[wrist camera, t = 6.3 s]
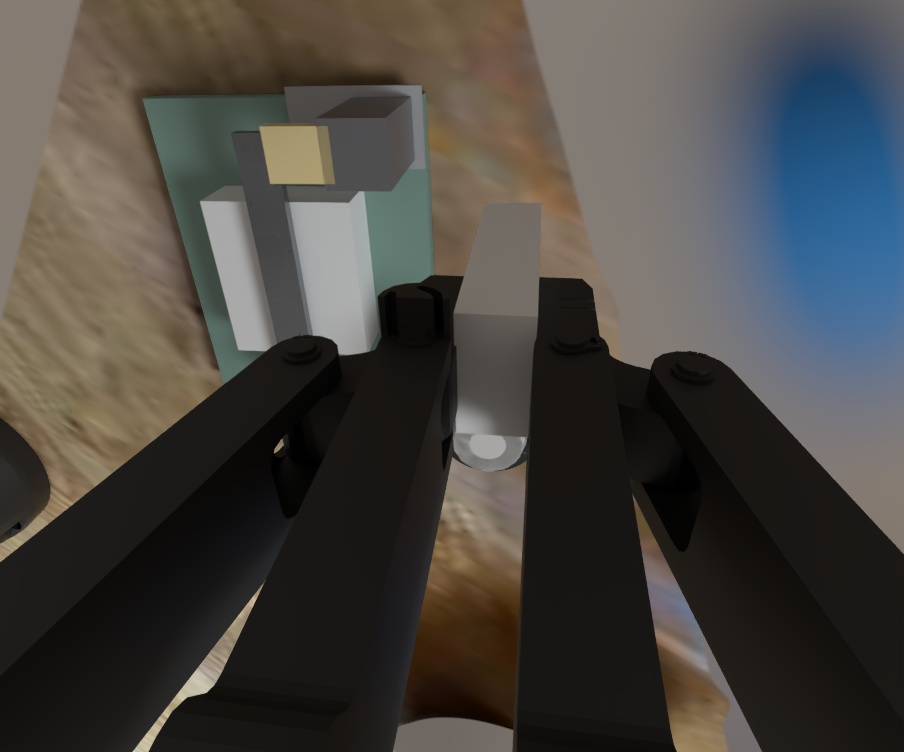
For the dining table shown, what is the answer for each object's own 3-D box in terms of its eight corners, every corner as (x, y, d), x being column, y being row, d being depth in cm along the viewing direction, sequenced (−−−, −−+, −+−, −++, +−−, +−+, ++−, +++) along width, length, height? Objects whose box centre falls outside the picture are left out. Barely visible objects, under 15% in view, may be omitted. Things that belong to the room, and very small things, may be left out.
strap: (284, 393, 37) (279, 403, 36) (226, 130, 28) (216, 134, 27) (334, 395, 36) (329, 405, 36) (290, 129, 28) (282, 133, 27)
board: (230, 372, 42) (202, 407, 38) (151, 85, 32) (104, 96, 28) (438, 382, 40) (429, 419, 37) (425, 81, 30) (410, 93, 27)
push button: (427, 355, 39) (397, 453, 31) (455, 288, 36) (431, 376, 28) (518, 391, 40) (514, 496, 31) (554, 328, 37) (559, 425, 29)
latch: (313, 159, 31) (271, 190, 26) (304, 97, 30) (257, 118, 25) (414, 159, 31) (391, 191, 26) (411, 96, 29) (385, 118, 24)
